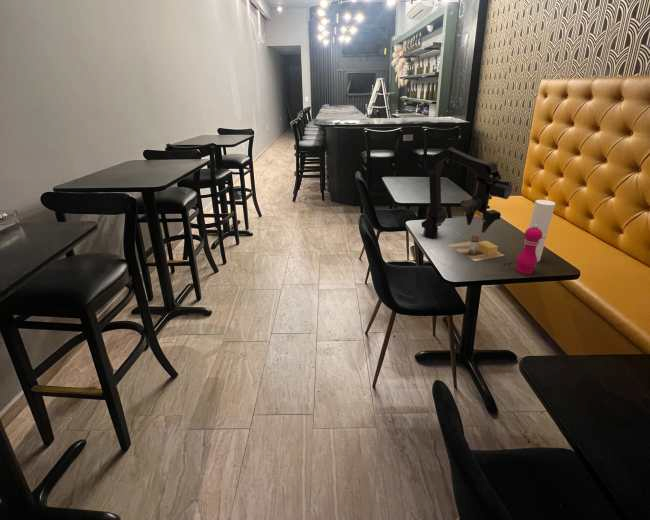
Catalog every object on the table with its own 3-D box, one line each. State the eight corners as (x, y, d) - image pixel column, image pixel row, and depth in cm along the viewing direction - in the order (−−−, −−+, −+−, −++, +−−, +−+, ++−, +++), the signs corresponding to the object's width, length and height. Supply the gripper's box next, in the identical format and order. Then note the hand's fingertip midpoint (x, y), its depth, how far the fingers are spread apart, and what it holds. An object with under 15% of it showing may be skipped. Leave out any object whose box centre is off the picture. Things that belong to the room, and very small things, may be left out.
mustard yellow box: (475, 249, 171) (477, 242, 170) (484, 247, 173) (486, 240, 171) (487, 255, 165) (488, 248, 164) (496, 254, 167) (498, 246, 166)
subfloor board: (447, 247, 177) (447, 244, 176) (475, 242, 182) (475, 239, 181) (473, 264, 162) (474, 261, 161) (503, 258, 167) (504, 255, 166)
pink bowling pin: (536, 275, 153) (549, 228, 144) (516, 274, 154) (528, 226, 145) (531, 267, 159) (543, 221, 150) (512, 266, 160) (523, 220, 151)
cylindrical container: (538, 256, 169) (553, 200, 158) (541, 262, 163) (556, 205, 152) (520, 253, 171) (534, 199, 160) (522, 260, 165) (536, 204, 154)
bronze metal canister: (466, 252, 168) (470, 235, 165) (472, 251, 169) (476, 234, 166) (471, 255, 165) (475, 238, 162) (477, 254, 166) (481, 237, 163)
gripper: (452, 188, 164) (446, 223, 171) (482, 201, 149) (475, 239, 156) (473, 186, 168) (467, 220, 175) (505, 199, 152) (497, 235, 159)
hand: (475, 228), depth 166 cm, fingers open, 9 cm apart
